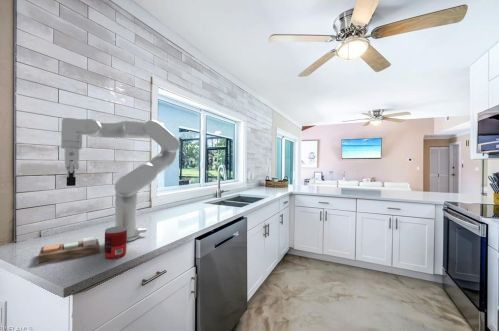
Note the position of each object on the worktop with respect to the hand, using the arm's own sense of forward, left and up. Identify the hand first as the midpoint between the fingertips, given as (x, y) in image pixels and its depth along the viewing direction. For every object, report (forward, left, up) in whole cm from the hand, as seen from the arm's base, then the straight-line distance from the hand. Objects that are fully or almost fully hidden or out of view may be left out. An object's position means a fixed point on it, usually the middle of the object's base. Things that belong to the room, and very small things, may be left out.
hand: (71, 185), depth 104 cm
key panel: (0, +13, -27) cm, 30 cm away
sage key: (-1, +13, -26) cm, 29 cm away
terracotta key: (+6, +13, -26) cm, 30 cm away
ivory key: (-7, +13, -25) cm, 29 cm away
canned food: (-15, +25, -27) cm, 40 cm away
